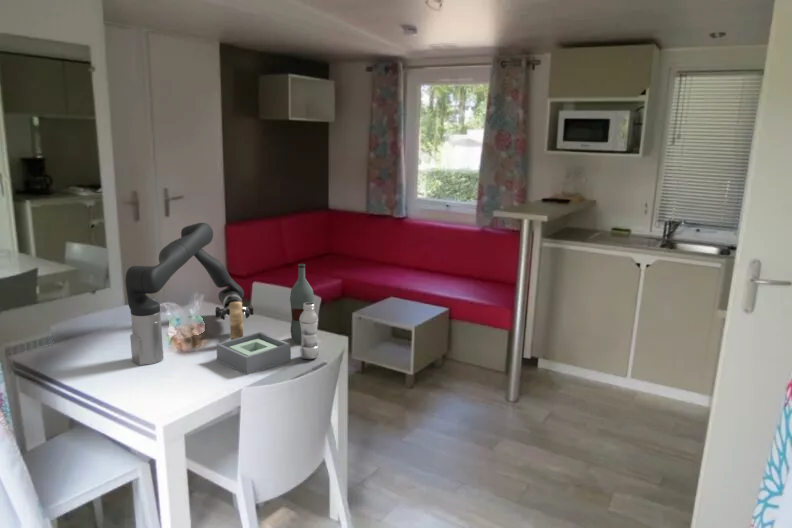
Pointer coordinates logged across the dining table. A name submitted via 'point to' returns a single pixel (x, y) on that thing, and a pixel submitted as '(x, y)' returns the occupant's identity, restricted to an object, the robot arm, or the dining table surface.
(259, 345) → the plate
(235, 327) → the peg
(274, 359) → the box
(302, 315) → the plastic bottle
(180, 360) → the dining table surface
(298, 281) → the vodka
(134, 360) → the robot arm
